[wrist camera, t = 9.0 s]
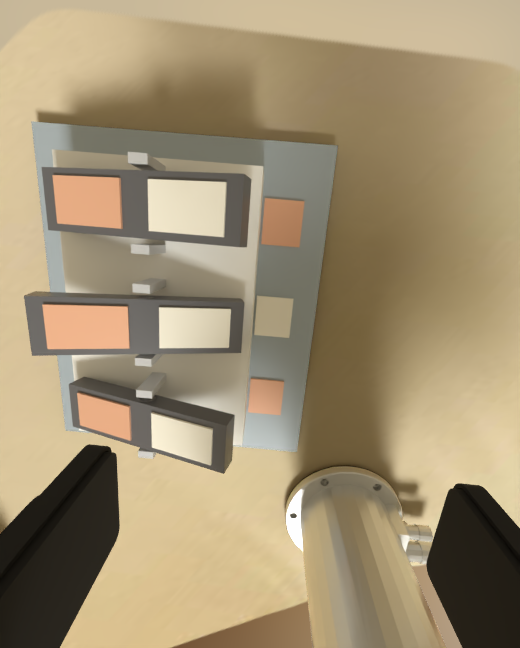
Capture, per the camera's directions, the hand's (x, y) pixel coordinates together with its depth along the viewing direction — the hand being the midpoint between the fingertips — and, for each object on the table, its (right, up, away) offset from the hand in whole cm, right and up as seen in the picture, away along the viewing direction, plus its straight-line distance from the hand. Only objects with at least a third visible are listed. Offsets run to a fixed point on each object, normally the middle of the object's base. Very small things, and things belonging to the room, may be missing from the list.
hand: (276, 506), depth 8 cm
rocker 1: (-8, +13, +11) cm, 19 cm away
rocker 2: (-9, +5, +13) cm, 17 cm away
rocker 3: (-9, -3, +15) cm, 18 cm away
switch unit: (-8, +7, +19) cm, 22 cm away
